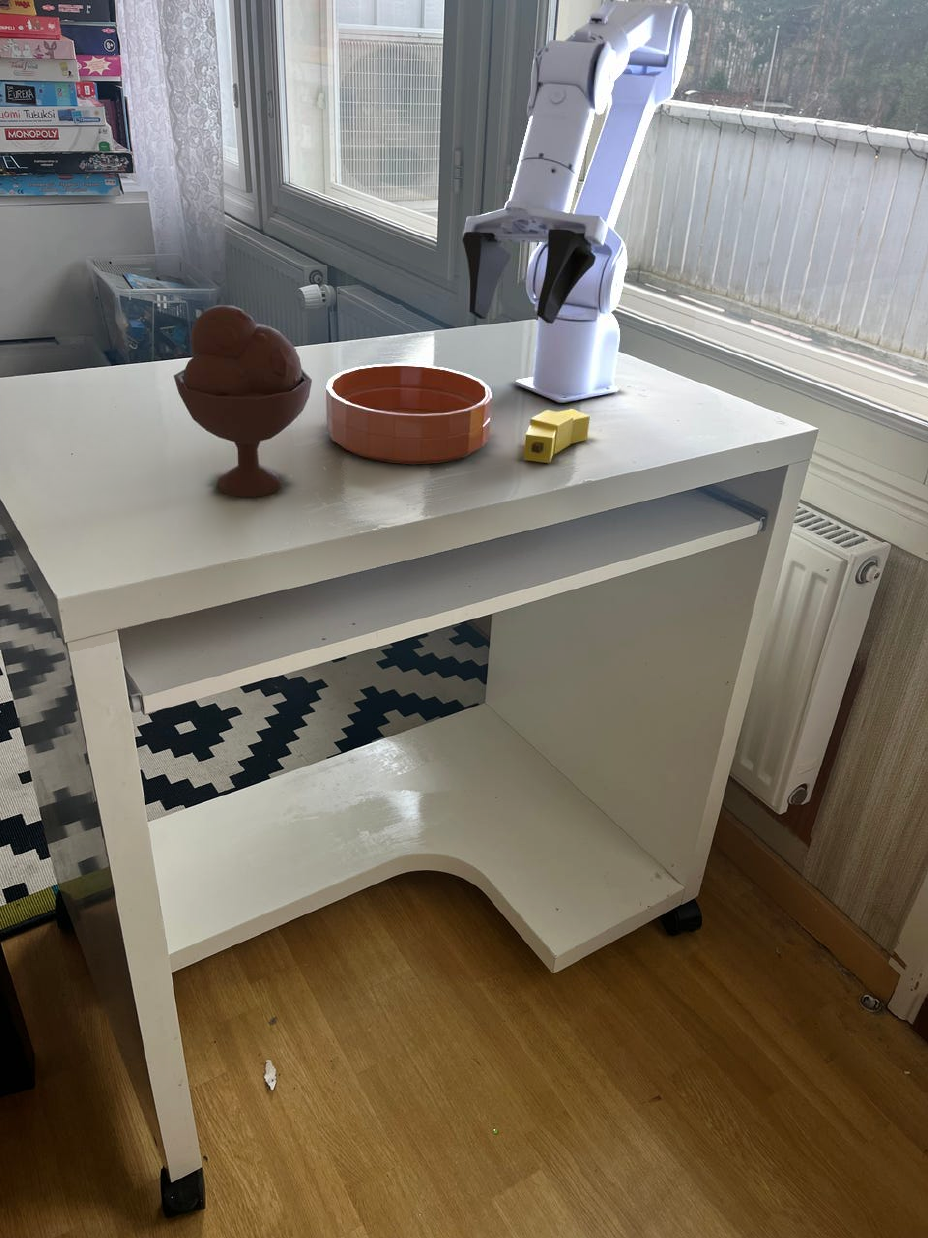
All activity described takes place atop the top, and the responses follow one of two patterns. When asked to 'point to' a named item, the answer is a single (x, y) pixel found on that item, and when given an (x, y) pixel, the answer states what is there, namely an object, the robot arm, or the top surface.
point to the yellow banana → (554, 433)
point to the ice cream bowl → (242, 390)
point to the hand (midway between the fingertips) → (510, 317)
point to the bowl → (408, 413)
